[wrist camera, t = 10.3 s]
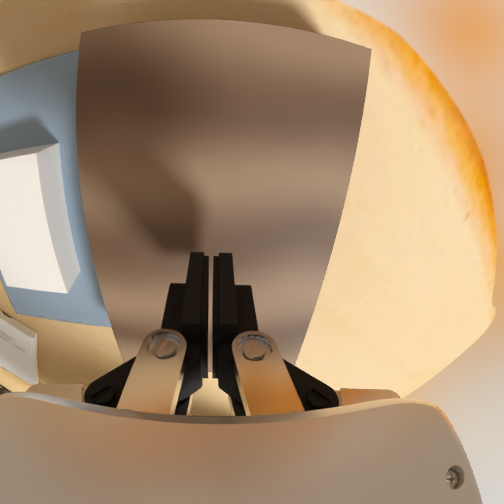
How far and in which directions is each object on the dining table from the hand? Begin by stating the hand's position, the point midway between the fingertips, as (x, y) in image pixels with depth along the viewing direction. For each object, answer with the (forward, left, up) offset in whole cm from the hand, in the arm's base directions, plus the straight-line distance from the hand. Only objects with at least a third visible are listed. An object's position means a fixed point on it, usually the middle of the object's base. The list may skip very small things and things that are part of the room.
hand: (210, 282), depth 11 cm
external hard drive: (-16, +24, -7) cm, 30 cm away
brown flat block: (0, 0, -6) cm, 6 cm away
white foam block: (+1, +12, -3) cm, 13 cm away
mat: (0, +13, -6) cm, 14 cm away
